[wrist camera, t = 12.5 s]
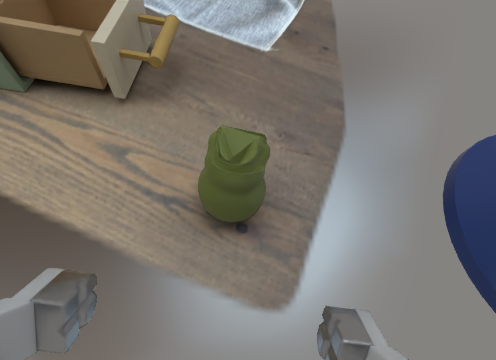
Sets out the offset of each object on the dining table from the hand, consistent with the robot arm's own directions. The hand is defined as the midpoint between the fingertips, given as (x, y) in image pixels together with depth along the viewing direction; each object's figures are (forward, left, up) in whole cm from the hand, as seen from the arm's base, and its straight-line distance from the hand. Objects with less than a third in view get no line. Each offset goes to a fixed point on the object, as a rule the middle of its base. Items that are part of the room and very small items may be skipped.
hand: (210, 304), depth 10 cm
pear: (0, -10, -14) cm, 17 cm away
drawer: (+17, -25, -13) cm, 33 cm away
